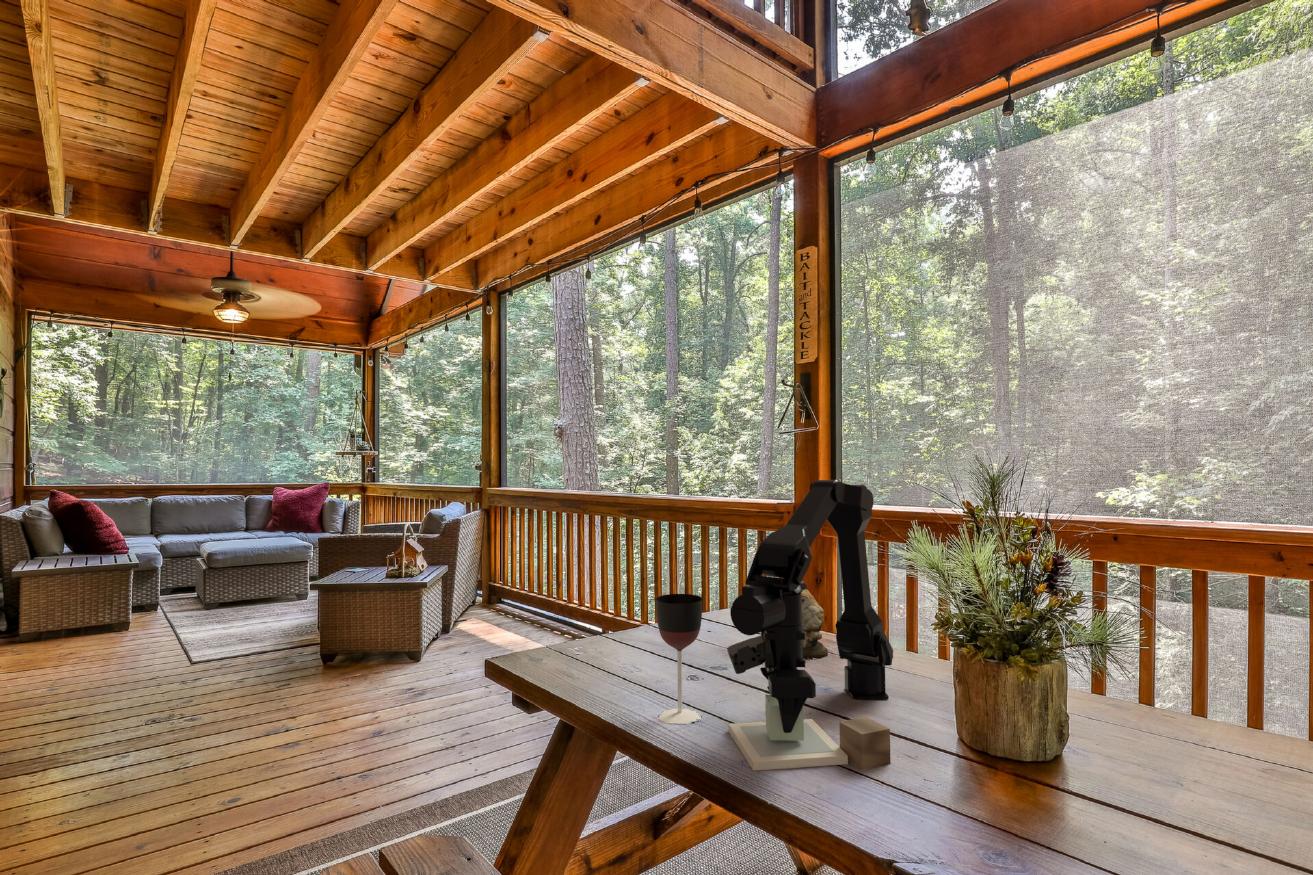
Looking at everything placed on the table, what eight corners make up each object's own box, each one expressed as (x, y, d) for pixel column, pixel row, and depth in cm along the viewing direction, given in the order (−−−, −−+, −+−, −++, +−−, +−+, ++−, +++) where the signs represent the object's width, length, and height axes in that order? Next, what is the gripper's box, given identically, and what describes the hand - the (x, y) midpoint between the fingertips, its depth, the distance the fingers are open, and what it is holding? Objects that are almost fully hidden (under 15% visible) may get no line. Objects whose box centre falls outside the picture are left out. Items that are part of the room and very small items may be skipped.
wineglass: (707, 709, 117) (706, 595, 117) (697, 728, 108) (696, 604, 109) (664, 705, 119) (663, 592, 120) (650, 723, 110) (650, 602, 111)
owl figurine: (745, 647, 157) (744, 575, 158) (774, 638, 165) (773, 569, 166) (811, 663, 144) (809, 583, 145) (839, 652, 152) (838, 577, 153)
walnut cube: (867, 750, 100) (866, 716, 100) (890, 764, 95) (889, 728, 95) (839, 756, 98) (839, 721, 98) (862, 770, 93) (862, 734, 93)
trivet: (811, 726, 109) (811, 718, 109) (847, 764, 95) (847, 755, 95) (728, 731, 107) (728, 723, 107) (753, 770, 93) (753, 761, 93)
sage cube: (797, 727, 103) (797, 694, 104) (803, 740, 98) (803, 706, 99) (765, 727, 104) (765, 694, 104) (770, 740, 99) (769, 706, 99)
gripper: (726, 609, 111) (727, 703, 111) (735, 638, 93) (736, 751, 92) (792, 609, 111) (794, 703, 110) (815, 638, 92) (817, 752, 92)
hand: (784, 725), depth 101 cm, fingers closed on sage cube, 5 cm apart
